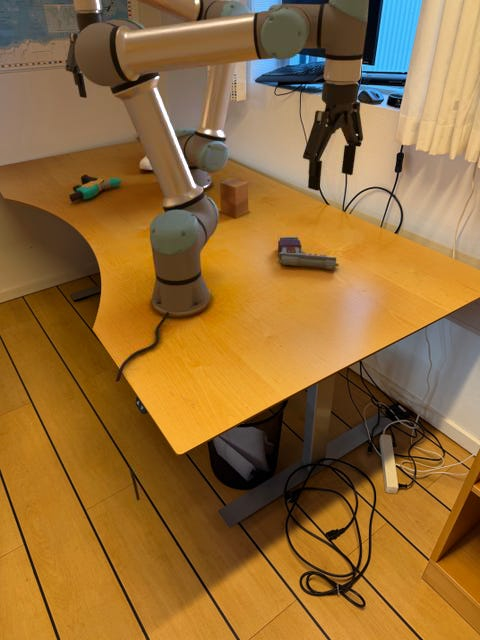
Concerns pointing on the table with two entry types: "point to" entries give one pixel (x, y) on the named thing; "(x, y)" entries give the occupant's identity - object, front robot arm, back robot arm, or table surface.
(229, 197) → the block
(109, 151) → the table surface
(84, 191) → the toy gun
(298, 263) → the toy gun
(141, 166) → the sneaker
